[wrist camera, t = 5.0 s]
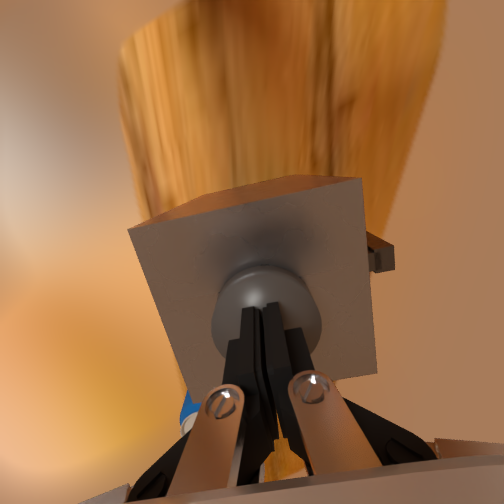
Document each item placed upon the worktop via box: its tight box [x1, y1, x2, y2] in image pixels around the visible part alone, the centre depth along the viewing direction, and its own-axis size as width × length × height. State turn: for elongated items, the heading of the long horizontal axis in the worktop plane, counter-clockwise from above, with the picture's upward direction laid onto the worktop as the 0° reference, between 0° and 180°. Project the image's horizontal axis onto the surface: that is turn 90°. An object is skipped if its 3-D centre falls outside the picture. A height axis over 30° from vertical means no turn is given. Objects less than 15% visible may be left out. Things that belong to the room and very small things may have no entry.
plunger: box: [211, 265, 322, 359], centre depth 20 cm, size 9×9×19 cm
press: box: [128, 175, 395, 404], centre depth 22 cm, size 11×14×19 cm
